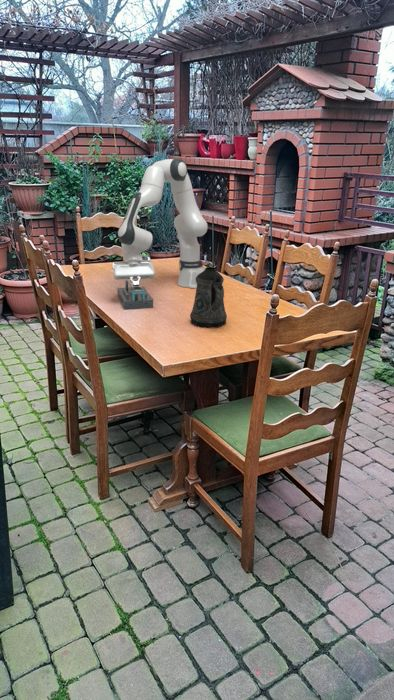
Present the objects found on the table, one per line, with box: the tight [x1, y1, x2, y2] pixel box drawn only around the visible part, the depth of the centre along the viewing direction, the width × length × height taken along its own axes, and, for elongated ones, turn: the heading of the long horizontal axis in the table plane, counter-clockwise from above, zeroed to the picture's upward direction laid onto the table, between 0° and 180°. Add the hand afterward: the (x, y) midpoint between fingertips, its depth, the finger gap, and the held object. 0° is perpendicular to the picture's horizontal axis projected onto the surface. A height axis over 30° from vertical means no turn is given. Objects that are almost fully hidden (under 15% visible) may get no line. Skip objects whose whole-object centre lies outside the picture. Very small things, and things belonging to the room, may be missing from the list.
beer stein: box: [189, 266, 228, 329], centre depth 229 cm, size 16×19×25 cm
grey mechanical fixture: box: [117, 279, 154, 310], centre depth 261 cm, size 14×27×8 cm, turn 15°
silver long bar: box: [128, 281, 141, 292], centre depth 259 cm, size 3×23×2 cm, turn 15°
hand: (136, 285), depth 253 cm, fingers closed
